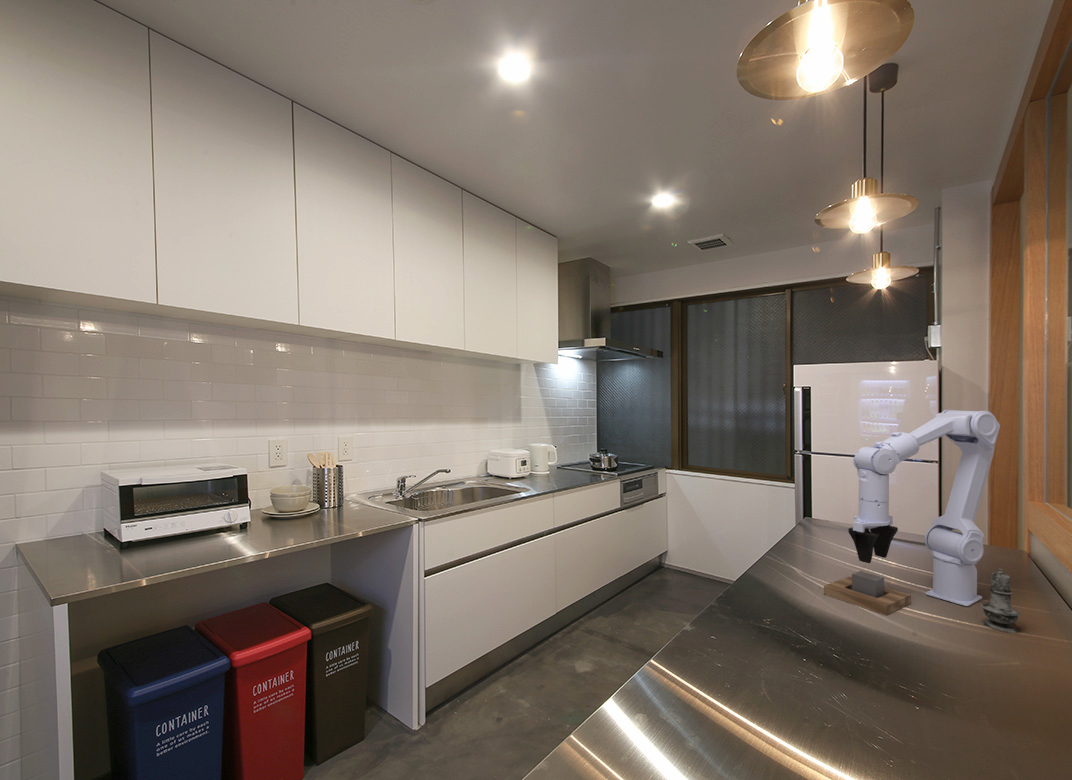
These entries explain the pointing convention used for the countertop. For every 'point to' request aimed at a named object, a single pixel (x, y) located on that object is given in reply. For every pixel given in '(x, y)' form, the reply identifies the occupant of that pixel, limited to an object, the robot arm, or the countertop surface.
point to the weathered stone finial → (1000, 604)
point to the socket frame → (868, 597)
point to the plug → (868, 584)
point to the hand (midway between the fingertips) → (872, 559)
